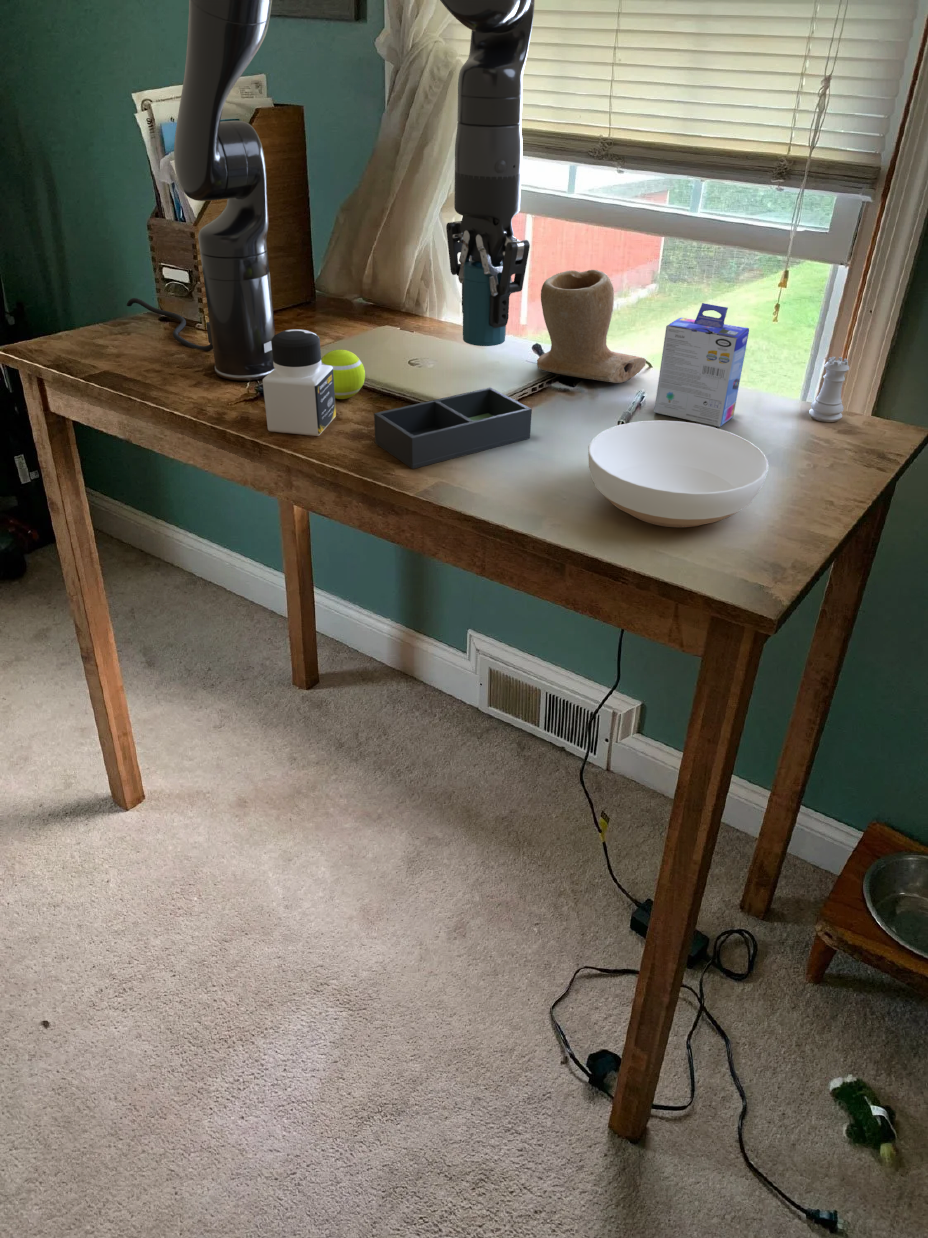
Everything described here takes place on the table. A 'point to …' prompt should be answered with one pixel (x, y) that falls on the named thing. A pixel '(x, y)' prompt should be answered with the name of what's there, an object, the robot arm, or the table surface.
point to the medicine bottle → (298, 385)
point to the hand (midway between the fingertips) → (484, 319)
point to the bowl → (676, 471)
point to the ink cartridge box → (701, 368)
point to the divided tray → (452, 427)
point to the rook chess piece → (830, 392)
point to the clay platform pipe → (583, 328)
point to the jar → (479, 307)
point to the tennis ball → (345, 372)
